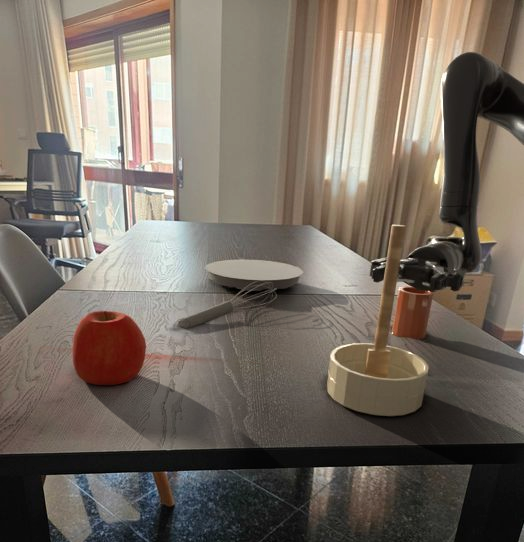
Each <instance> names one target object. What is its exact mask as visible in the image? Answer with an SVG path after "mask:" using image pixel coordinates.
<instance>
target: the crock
mask: <svg viewBox="0 0 524 542" xmlns="http://www.w3.org/2000/svg"><path fill="white" fill-rule="evenodd" d="M434 294H435V292H429V291H421V290H418V289H415V288H414V287H412V286H411V285H410V286H400V287H399V288H398V290H397V295H396V296H397V297H396V303H395V309H394V316H393V320H392V327H391V334H393V335H394V336H396V337H398V338H406V339H419V340H420V339H421V340H423V339H425V338H426V335H427V331H428V324H429V319H430V314H431V309H432V304H433V298H434Z"/></svg>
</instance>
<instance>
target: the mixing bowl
mask: <svg viewBox="0 0 524 542" xmlns="http://www.w3.org/2000/svg"><path fill="white" fill-rule="evenodd" d="M373 348H374V343H370V342H357V343H356V342H355V343H348V344H343V345H340V346H337V347H336V348H334V349H333V350H332V351H331V352H330V355H329V364H328V372H327V382H326V389H327V393H328V394H329V396H330V398H332V399H333V401H335V402H337V403H338V404H340V405H341V406H343V407H345V408H348V409H350V410H353V411H355V412H359V413H363V414H368V415H373V416H383V417H385V416H386V417H396V416H405V415H408V414H411V413H414V412H416V411H417V410H418V409H420V408H421V407H422V404H423V399H424V394H425V389H426V384H427V380H428V374H429V368H430V366H429V364H428V363H427V361H426V360H424V359H423V358H422V357H420V356H419V355H417V354H415V353H413V352H411V351H409V350H406V349H403V348H400V347H396V346H393V345H387V346H386V350H390V352H391V355H390V361H389V367H388V373H387V378H378V377H373V376H368V375H364V374H365V367H366V360H367V354H368V349H373Z"/></svg>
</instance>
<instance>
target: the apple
mask: <svg viewBox="0 0 524 542" xmlns="http://www.w3.org/2000/svg"><path fill="white" fill-rule="evenodd" d="M146 352H147V343H146V338H145V336H144V333H143V332H142V330H141V329H140V327H139V325H138V324H137V323H136V321H135V320H134V319H133V318H132V317H131V316H130V315H128V314H126V313H123V312H120V311H113V310H112V311H111V310H97V311H93V312H89V313H88V314H87V315H85V316H84V317H83V318H81V320H80V321H79V323H78V325H77V327H76V329H75V332H74V334H73V341H72V364H73V368H74V371H75V372H76V374H77V376H78V377H79V378H80V379H81V380H83V381H84V382H85V383H88V384H91V385H97V386H98V385H99V386H117V385H120V384H124V383H126V382H129V381H131V380H132V379H134V378H135V377H137V376H138V375H139V373H140V372H141V370H142V368H143V365H144V363H145V359H146Z"/></svg>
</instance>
